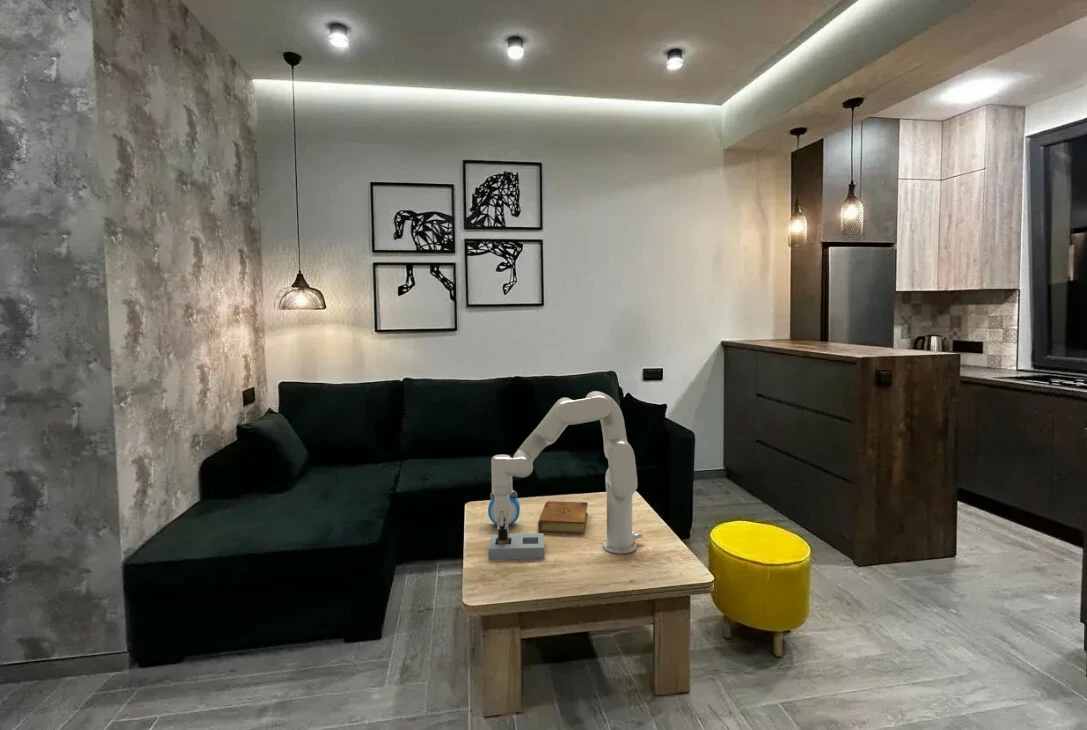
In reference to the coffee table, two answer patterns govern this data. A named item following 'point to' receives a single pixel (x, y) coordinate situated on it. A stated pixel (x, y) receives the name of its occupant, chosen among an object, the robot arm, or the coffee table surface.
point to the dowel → (507, 535)
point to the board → (517, 547)
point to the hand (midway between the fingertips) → (503, 536)
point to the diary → (563, 517)
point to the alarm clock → (513, 508)
